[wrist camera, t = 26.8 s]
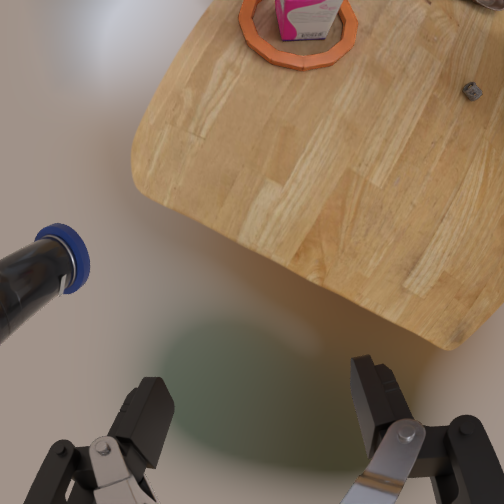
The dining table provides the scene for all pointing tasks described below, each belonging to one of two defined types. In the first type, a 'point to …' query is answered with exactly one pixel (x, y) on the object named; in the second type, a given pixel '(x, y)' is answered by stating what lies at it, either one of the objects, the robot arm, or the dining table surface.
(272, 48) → the ring
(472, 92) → the decorative ring
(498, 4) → the plant saucer
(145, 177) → the dining table surface
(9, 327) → the robot arm
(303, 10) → the supplement box
